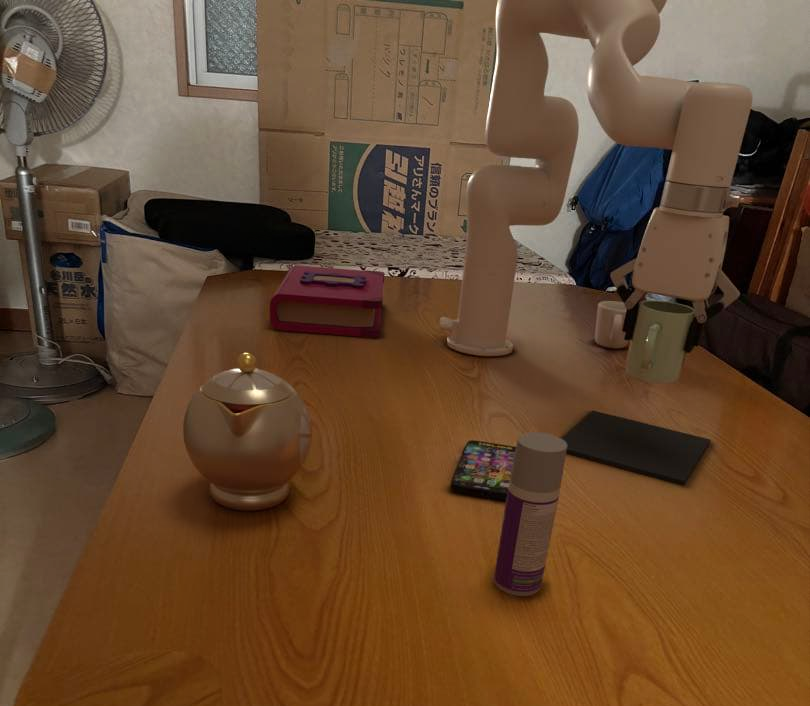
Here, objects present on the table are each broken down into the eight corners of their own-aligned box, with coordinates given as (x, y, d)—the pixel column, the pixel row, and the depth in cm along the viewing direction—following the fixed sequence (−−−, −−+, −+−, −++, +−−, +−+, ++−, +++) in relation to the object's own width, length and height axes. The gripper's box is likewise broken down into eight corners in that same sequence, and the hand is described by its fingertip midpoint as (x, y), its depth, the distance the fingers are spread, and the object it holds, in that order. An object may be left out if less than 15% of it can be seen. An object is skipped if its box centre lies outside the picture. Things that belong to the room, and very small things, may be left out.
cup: (631, 357, 151) (641, 316, 147) (590, 351, 152) (599, 310, 148) (629, 343, 160) (638, 303, 156) (590, 338, 161) (598, 299, 157)
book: (269, 330, 147) (269, 289, 143) (288, 297, 171) (288, 261, 168) (379, 338, 148) (382, 298, 144) (382, 304, 172) (385, 269, 168)
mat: (552, 449, 107) (553, 445, 106) (591, 413, 121) (592, 410, 120) (684, 485, 100) (685, 481, 99) (709, 443, 114) (710, 439, 113)
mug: (632, 362, 109) (647, 297, 105) (683, 373, 106) (701, 307, 102) (612, 380, 101) (627, 310, 97) (667, 392, 99) (685, 321, 94)
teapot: (303, 531, 82) (306, 381, 73) (173, 523, 81) (160, 371, 73) (317, 461, 97) (321, 331, 89) (208, 454, 96) (201, 322, 88)
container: (489, 569, 78) (511, 430, 70) (534, 570, 78) (561, 432, 71) (498, 596, 74) (522, 451, 66) (545, 596, 74) (575, 453, 67)
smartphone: (448, 484, 92) (467, 438, 105) (447, 491, 92) (466, 445, 105) (513, 495, 91) (525, 448, 103) (512, 502, 91) (524, 454, 104)
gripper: (772, 207, 94) (730, 352, 102) (631, 190, 100) (603, 326, 109) (764, 212, 88) (720, 364, 97) (615, 193, 95) (587, 337, 103)
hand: (658, 343), depth 103 cm, fingers closed on mug, 7 cm apart
